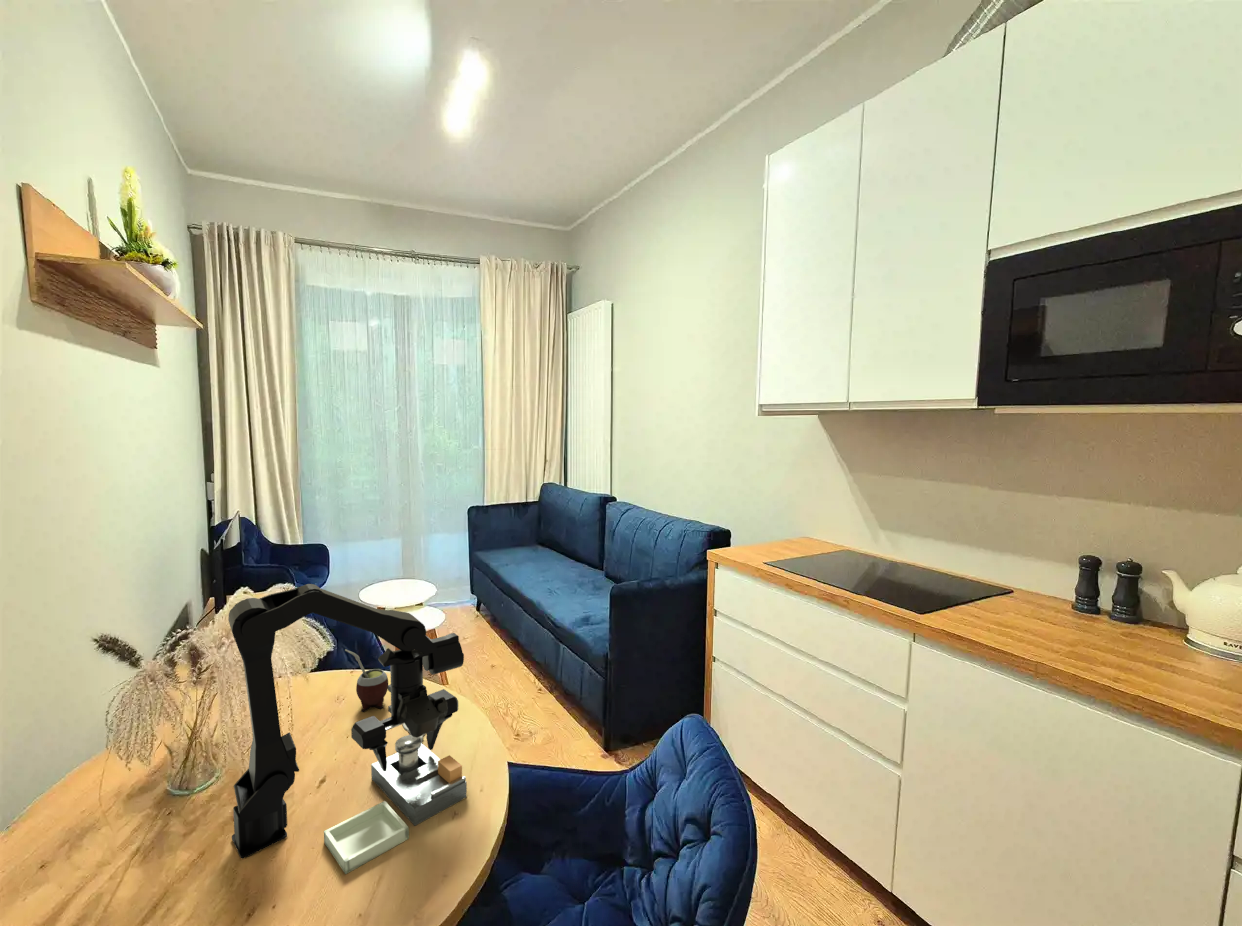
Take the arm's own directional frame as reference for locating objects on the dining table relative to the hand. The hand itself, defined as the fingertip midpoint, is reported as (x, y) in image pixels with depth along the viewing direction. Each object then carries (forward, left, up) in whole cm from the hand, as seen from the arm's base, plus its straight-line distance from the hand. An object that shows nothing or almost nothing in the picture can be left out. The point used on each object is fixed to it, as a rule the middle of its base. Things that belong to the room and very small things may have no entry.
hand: (408, 759), depth 105 cm
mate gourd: (+6, +32, -4) cm, 33 cm away
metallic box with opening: (0, -4, -4) cm, 5 cm away
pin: (0, 0, -4) cm, 4 cm away
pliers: (+10, +15, -5) cm, 18 cm away
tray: (-12, -10, -4) cm, 16 cm away
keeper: (+4, -9, -1) cm, 10 cm away
